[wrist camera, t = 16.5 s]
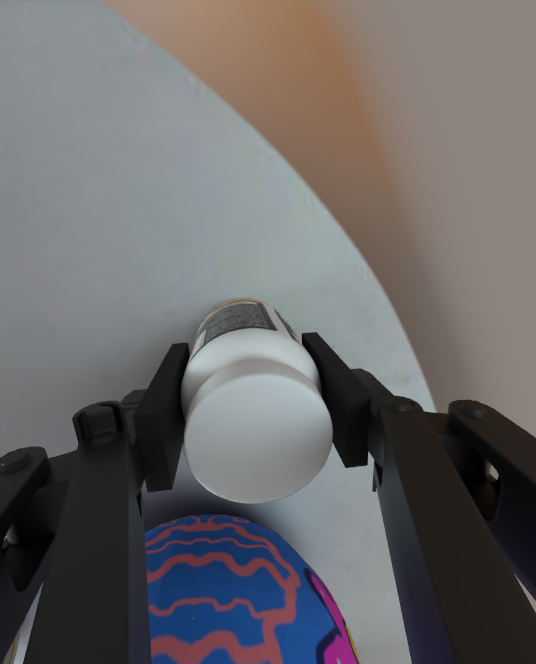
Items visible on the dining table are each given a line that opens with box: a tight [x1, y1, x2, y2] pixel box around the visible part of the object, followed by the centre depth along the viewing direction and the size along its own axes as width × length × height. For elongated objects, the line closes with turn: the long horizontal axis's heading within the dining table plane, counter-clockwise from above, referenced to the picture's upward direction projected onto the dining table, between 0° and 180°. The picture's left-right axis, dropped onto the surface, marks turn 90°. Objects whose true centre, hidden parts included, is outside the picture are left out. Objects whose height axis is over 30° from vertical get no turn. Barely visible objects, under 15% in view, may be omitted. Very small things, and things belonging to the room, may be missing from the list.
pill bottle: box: [181, 299, 333, 504], centre depth 14 cm, size 6×6×10 cm
